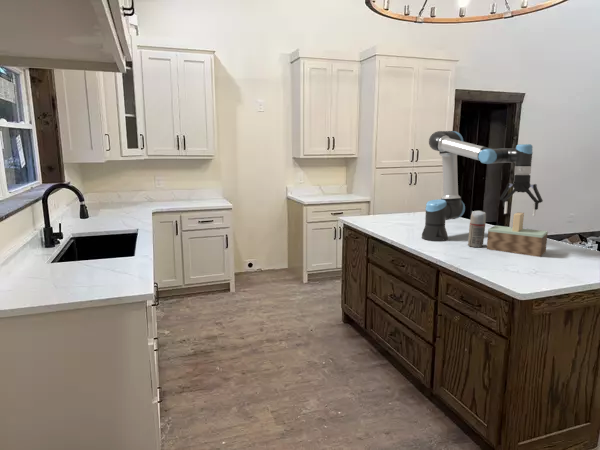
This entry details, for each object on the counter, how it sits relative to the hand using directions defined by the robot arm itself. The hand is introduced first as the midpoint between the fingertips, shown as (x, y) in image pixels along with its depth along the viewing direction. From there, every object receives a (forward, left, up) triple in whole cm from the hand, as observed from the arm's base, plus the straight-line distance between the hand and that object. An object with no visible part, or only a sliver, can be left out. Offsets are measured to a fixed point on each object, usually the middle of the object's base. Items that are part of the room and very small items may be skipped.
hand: (519, 214), depth 218 cm
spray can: (-20, -3, -20) cm, 29 cm away
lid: (0, 0, -10) cm, 10 cm away
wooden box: (0, 0, -20) cm, 20 cm away
